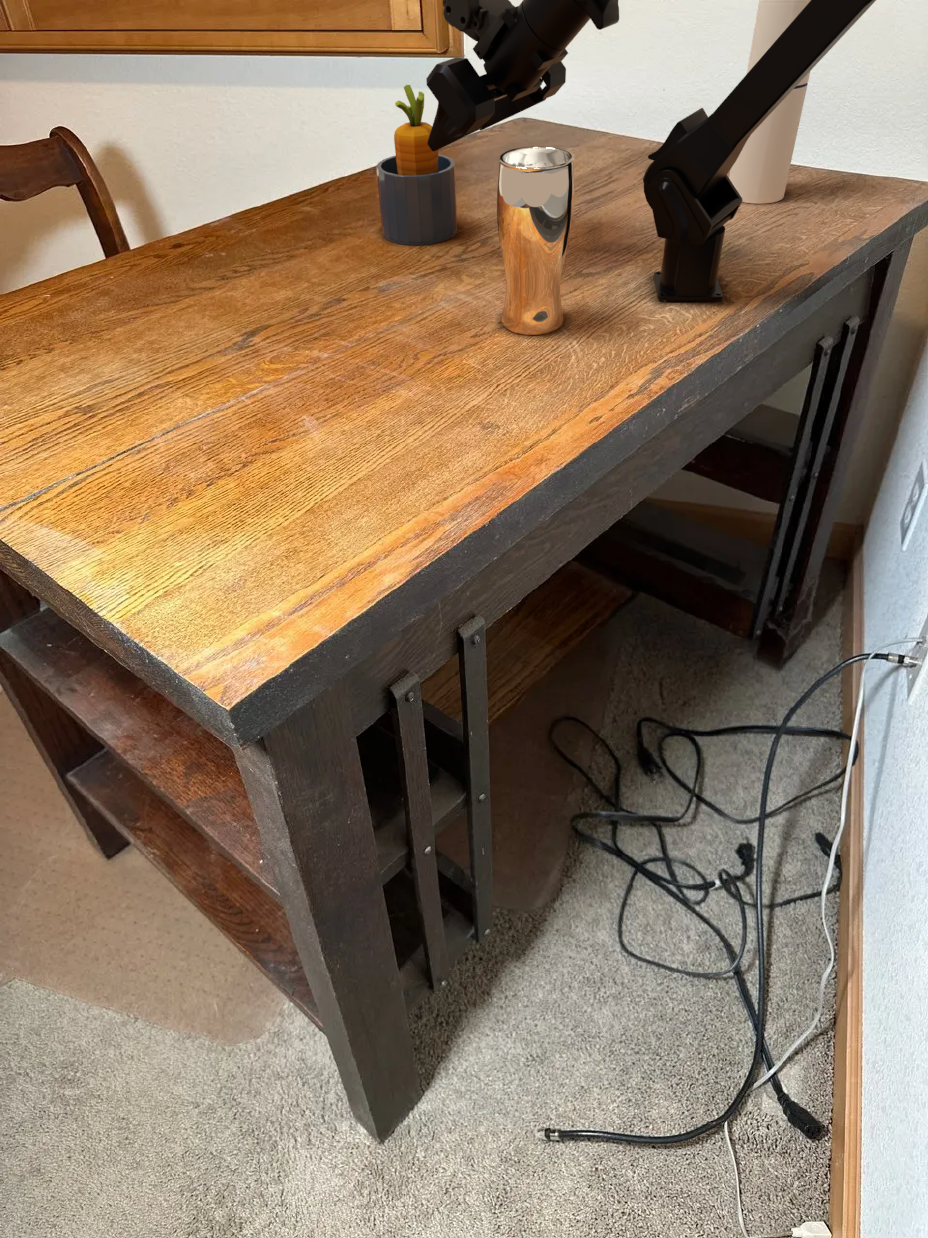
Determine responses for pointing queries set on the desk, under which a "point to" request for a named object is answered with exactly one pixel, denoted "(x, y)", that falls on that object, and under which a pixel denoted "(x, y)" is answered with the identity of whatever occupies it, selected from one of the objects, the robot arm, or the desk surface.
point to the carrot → (414, 139)
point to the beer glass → (534, 234)
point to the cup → (417, 203)
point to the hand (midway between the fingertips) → (455, 136)
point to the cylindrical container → (770, 116)
